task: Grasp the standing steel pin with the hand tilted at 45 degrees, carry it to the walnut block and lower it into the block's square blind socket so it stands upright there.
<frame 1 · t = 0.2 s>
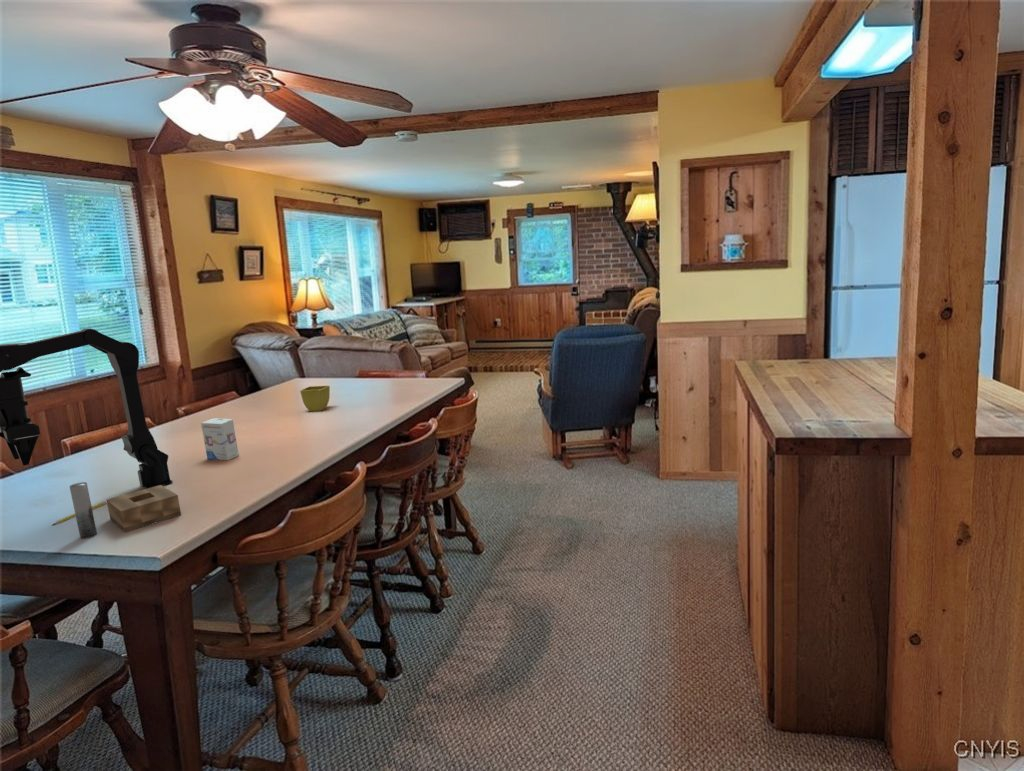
hand: (21, 461, 156), 14 cm above the table, tool pointing down, fingers open, 9 cm apart
ink box: (223, 458, 201), on the table
socket block: (145, 517, 155), on the table
pin: (88, 535, 146), on the table
flower pot: (317, 410, 260), on the table
pencil: (79, 516, 160), on the table
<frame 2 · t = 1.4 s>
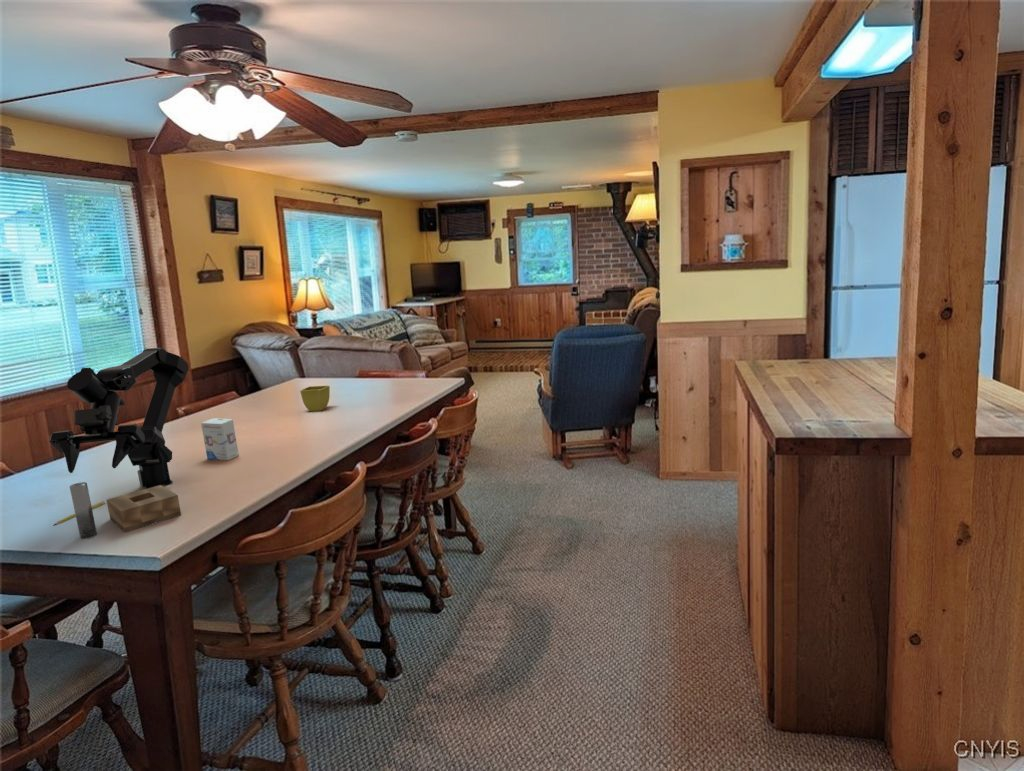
hand: (92, 469, 150), 13 cm above the table, tool tilted 45°, fingers open, 9 cm apart
nothing on the table moved.
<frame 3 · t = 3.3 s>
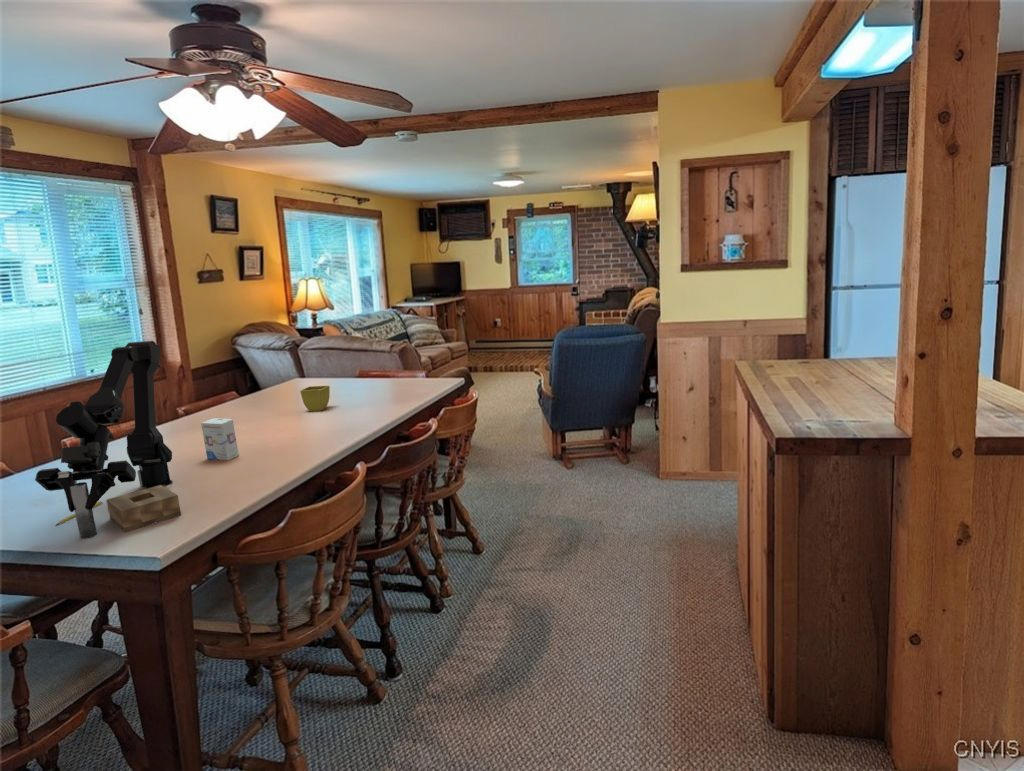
hand: (80, 510, 143), 7 cm above the table, tool tilted 45°, fingers closed on pin, 3 cm apart
pin: (88, 535, 146), on the table, touching gripper
everything else where it was.
when the fingers open (9 cm above the table, at t = 6.5 s): pin drops 2 cm, resting on socket block.
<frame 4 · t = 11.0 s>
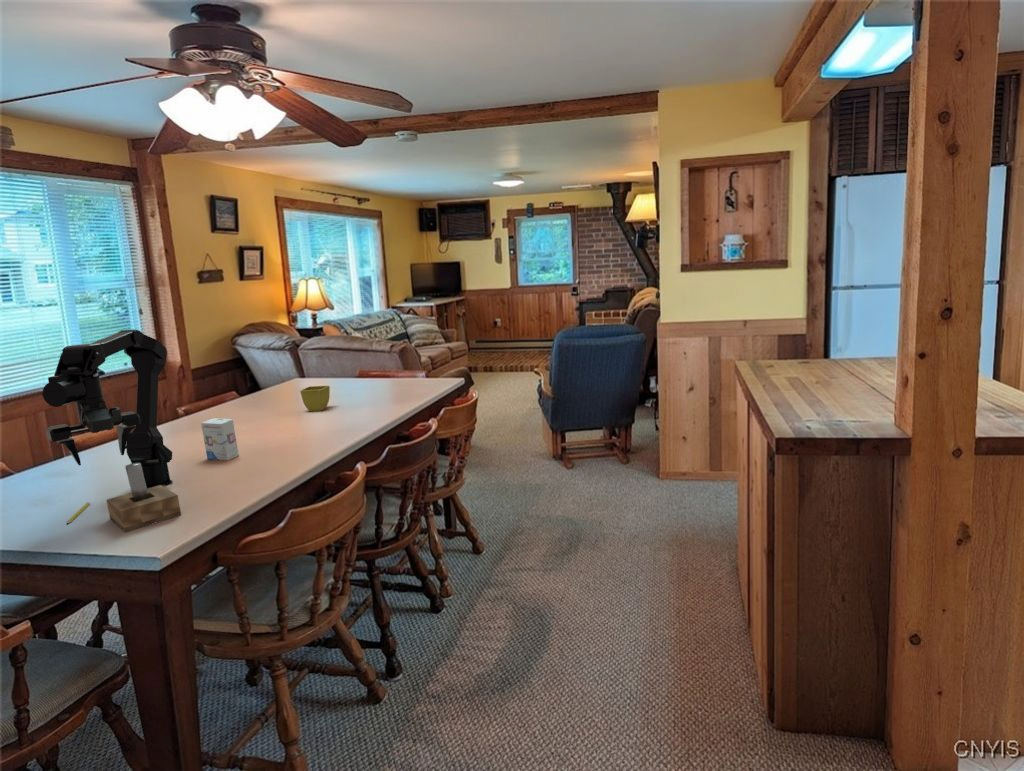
hand: (101, 459, 159), 13 cm above the table, tool pointing down, fingers open, 9 cm apart
pin: (144, 512, 155), point 1 cm above the table, touching socket block
at the end: pin 0.2 cm off-centre on the socket block, point 1.0 cm above the socket block's base; pin tilted 1°; the gripper is holding nothing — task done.
